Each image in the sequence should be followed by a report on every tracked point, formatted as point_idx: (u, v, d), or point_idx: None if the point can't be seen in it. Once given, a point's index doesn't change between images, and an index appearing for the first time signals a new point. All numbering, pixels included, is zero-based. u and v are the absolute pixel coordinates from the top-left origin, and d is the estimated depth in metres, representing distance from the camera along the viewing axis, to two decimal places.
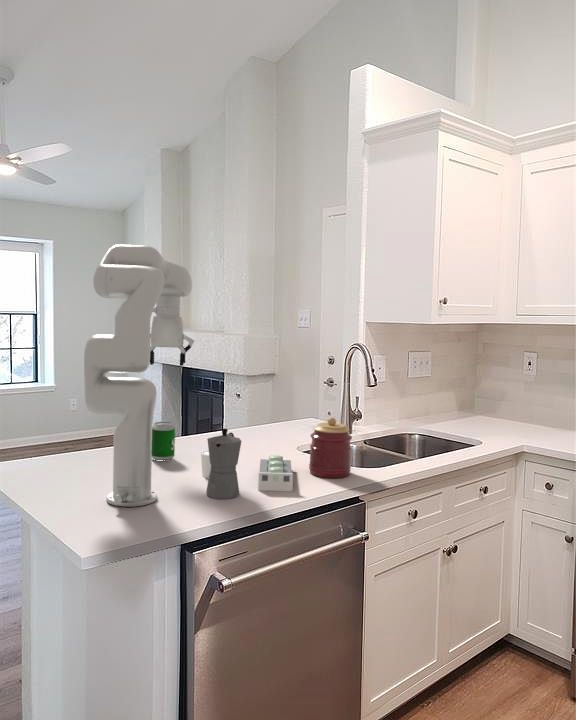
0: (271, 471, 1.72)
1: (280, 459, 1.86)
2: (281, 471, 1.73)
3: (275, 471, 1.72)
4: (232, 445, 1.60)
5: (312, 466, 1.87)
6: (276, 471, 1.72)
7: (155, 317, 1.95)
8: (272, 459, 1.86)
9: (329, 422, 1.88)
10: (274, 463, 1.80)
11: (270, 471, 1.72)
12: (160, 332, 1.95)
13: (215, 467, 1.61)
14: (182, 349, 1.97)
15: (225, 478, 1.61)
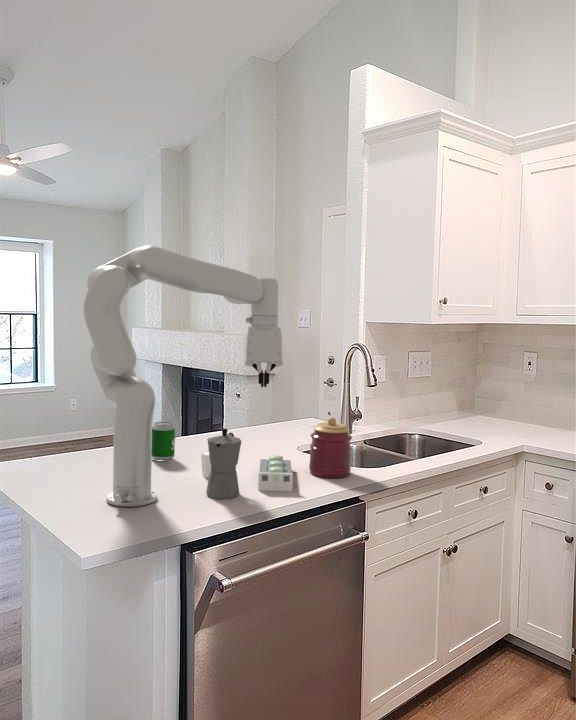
0: (271, 471, 1.72)
1: (280, 459, 1.86)
2: (281, 471, 1.73)
3: (275, 471, 1.72)
4: (232, 445, 1.60)
5: (312, 466, 1.87)
6: (276, 471, 1.72)
7: (251, 328, 1.70)
8: (272, 459, 1.86)
9: (329, 422, 1.88)
10: (274, 463, 1.80)
11: (270, 471, 1.72)
12: (257, 345, 1.70)
13: (215, 467, 1.61)
14: (269, 368, 1.72)
15: (225, 478, 1.61)
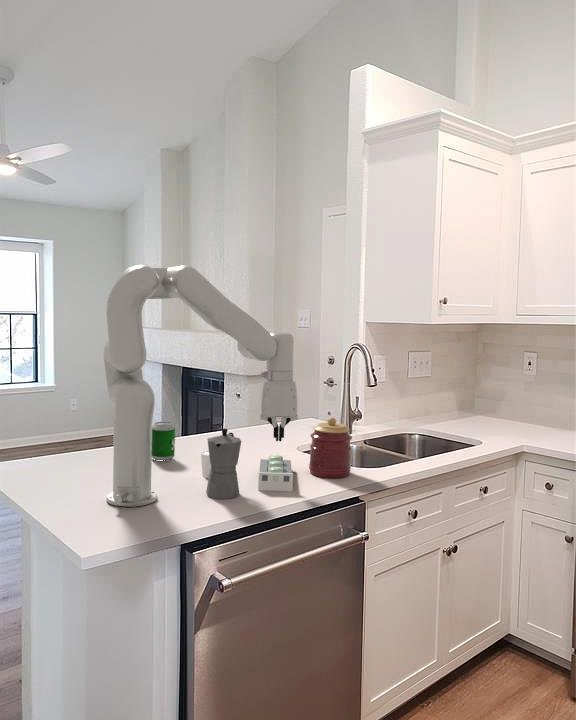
0: (271, 471, 1.72)
1: (280, 459, 1.86)
2: (281, 471, 1.73)
3: (275, 471, 1.72)
4: (232, 445, 1.60)
5: (312, 466, 1.87)
6: (276, 471, 1.72)
7: (266, 383, 1.70)
8: (272, 459, 1.86)
9: (329, 422, 1.88)
10: (274, 463, 1.80)
11: (270, 471, 1.72)
12: (272, 400, 1.70)
13: (215, 467, 1.61)
14: (284, 422, 1.72)
15: (225, 478, 1.61)
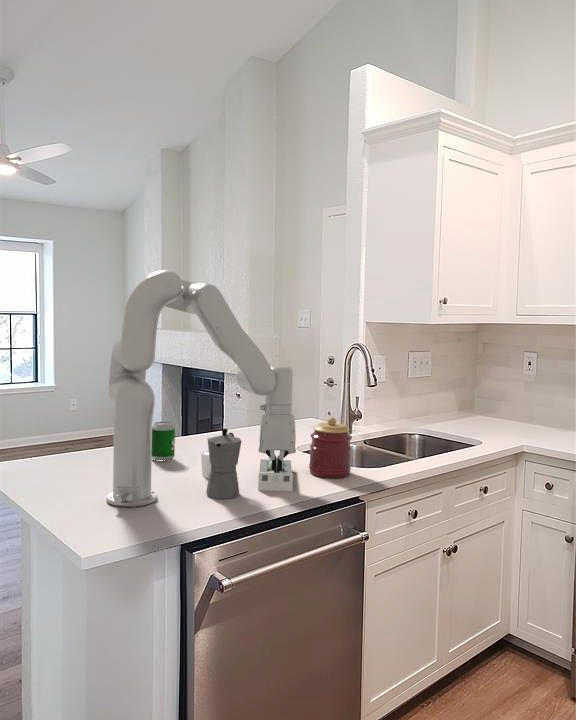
0: None
1: None
2: None
3: None
4: (232, 445, 1.60)
5: (312, 466, 1.87)
6: None
7: (265, 416, 1.70)
8: None
9: (329, 422, 1.88)
10: None
11: None
12: (271, 433, 1.70)
13: (215, 467, 1.61)
14: (282, 455, 1.72)
15: (225, 478, 1.61)
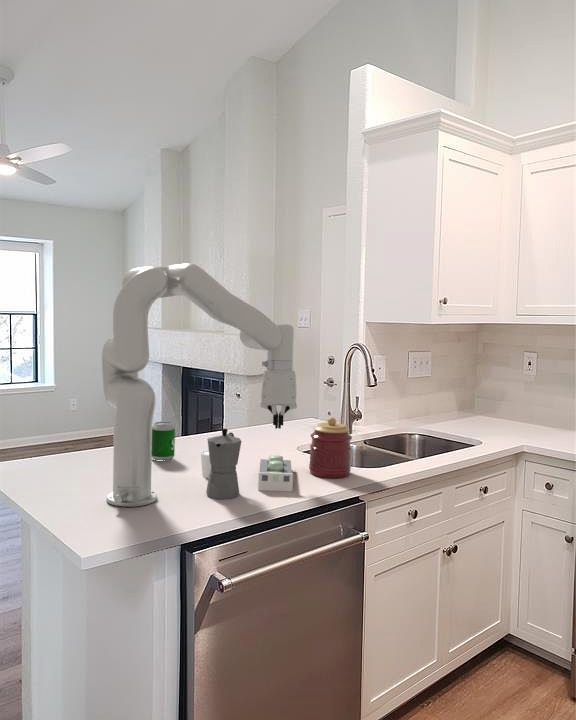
0: None
1: (280, 459, 1.86)
2: None
3: None
4: (232, 445, 1.60)
5: (312, 466, 1.87)
6: None
7: (267, 372, 1.76)
8: (272, 459, 1.86)
9: (329, 422, 1.88)
10: (274, 463, 1.80)
11: None
12: (272, 389, 1.76)
13: (215, 467, 1.61)
14: (283, 410, 1.78)
15: (225, 478, 1.61)
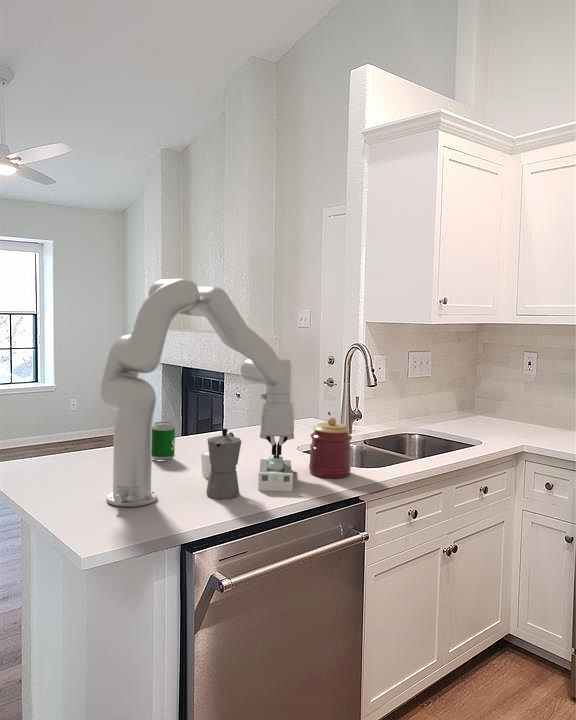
0: None
1: (280, 459, 1.86)
2: None
3: None
4: (232, 445, 1.60)
5: (312, 466, 1.87)
6: None
7: (266, 405, 1.84)
8: (272, 459, 1.86)
9: (329, 422, 1.88)
10: (274, 463, 1.80)
11: None
12: (271, 420, 1.84)
13: (215, 467, 1.61)
14: (281, 441, 1.86)
15: (225, 478, 1.61)
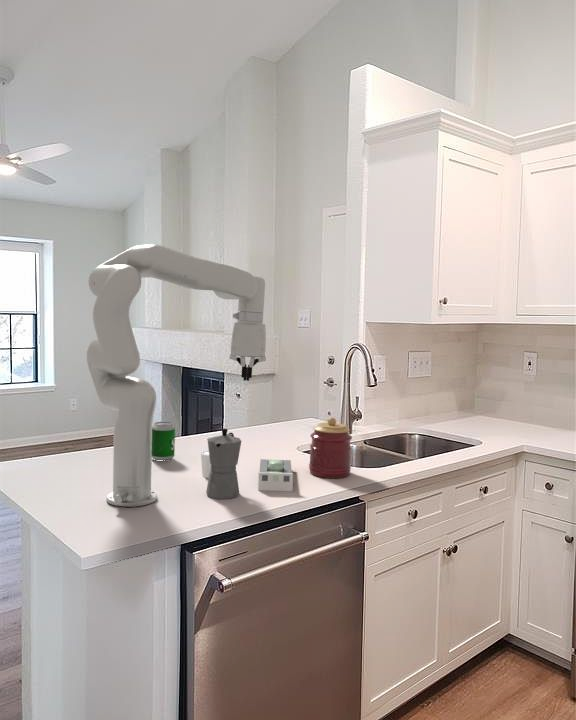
0: None
1: None
2: None
3: None
4: (232, 445, 1.60)
5: (312, 466, 1.87)
6: None
7: (237, 323, 1.77)
8: None
9: (329, 422, 1.88)
10: (274, 463, 1.80)
11: None
12: (242, 340, 1.77)
13: (215, 467, 1.61)
14: (252, 363, 1.79)
15: (225, 478, 1.61)
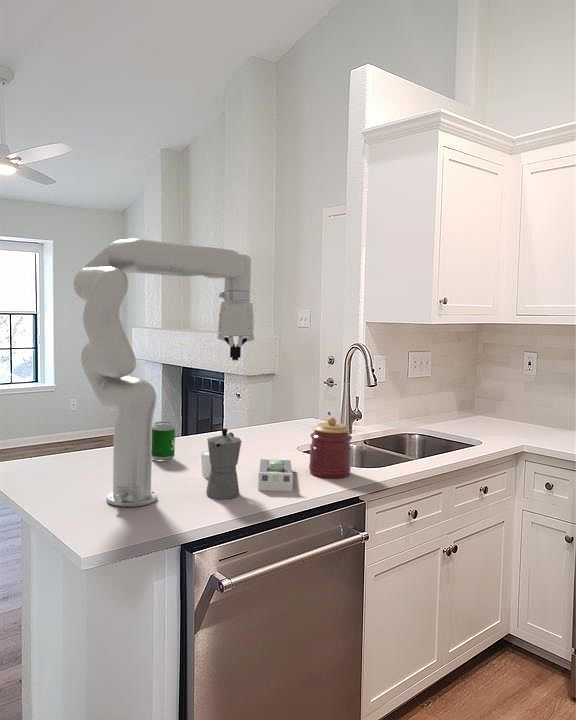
0: None
1: None
2: None
3: None
4: (232, 445, 1.60)
5: (312, 466, 1.87)
6: None
7: (224, 303, 1.75)
8: None
9: (329, 422, 1.88)
10: (274, 463, 1.80)
11: None
12: (229, 319, 1.75)
13: (215, 467, 1.61)
14: (240, 342, 1.77)
15: (225, 478, 1.61)
